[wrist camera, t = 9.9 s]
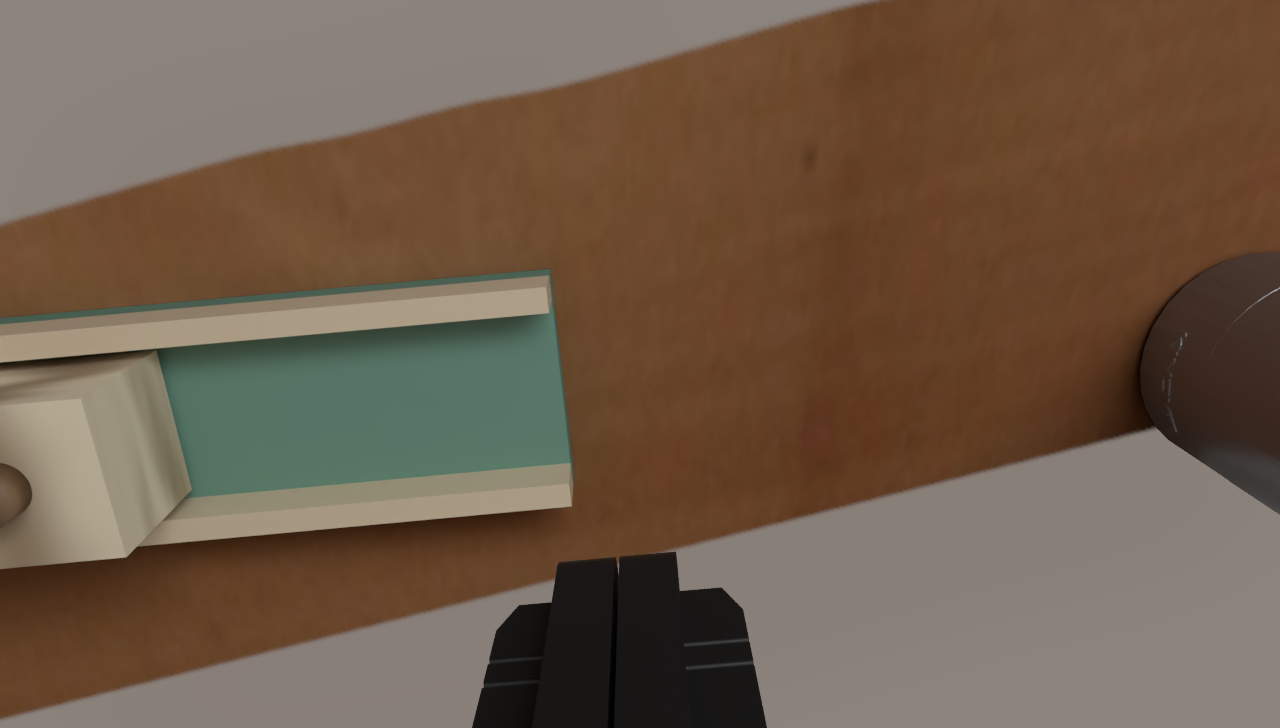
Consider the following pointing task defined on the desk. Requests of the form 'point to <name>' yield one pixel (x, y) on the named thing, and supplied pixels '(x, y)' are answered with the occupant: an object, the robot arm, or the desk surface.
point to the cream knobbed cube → (85, 458)
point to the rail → (345, 400)
